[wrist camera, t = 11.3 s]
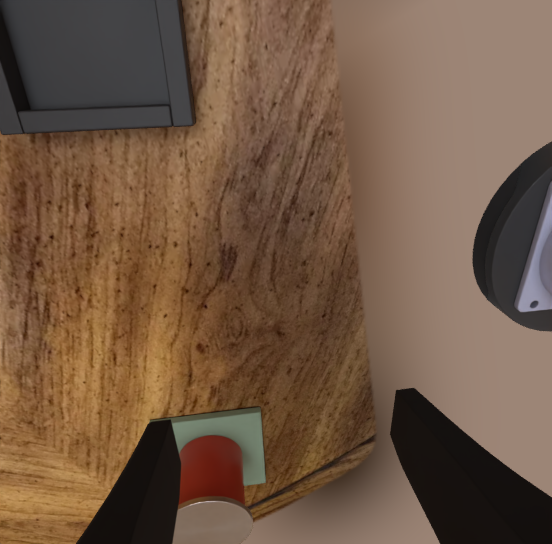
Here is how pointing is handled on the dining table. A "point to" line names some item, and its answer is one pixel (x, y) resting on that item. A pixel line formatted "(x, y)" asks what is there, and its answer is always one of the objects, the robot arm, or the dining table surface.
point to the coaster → (228, 436)
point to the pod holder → (93, 66)
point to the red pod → (212, 494)
